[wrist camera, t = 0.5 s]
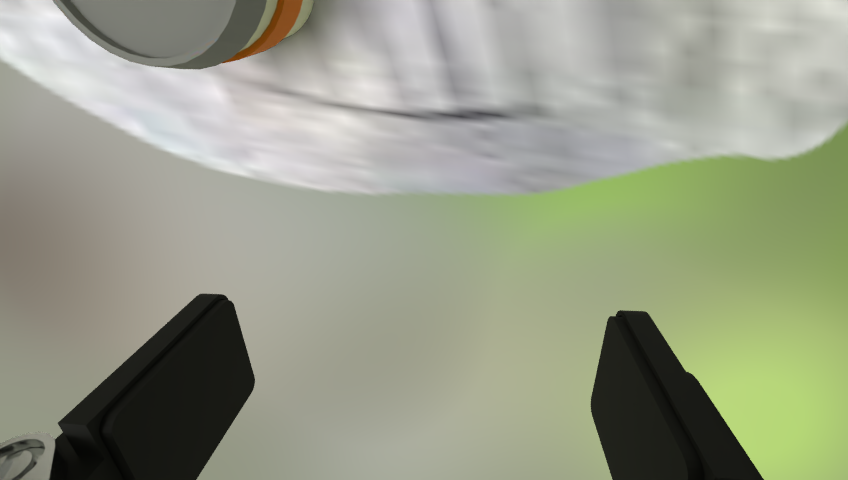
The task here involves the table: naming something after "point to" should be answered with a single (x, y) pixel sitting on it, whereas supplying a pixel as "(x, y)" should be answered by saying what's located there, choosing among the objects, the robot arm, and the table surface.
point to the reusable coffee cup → (186, 28)
